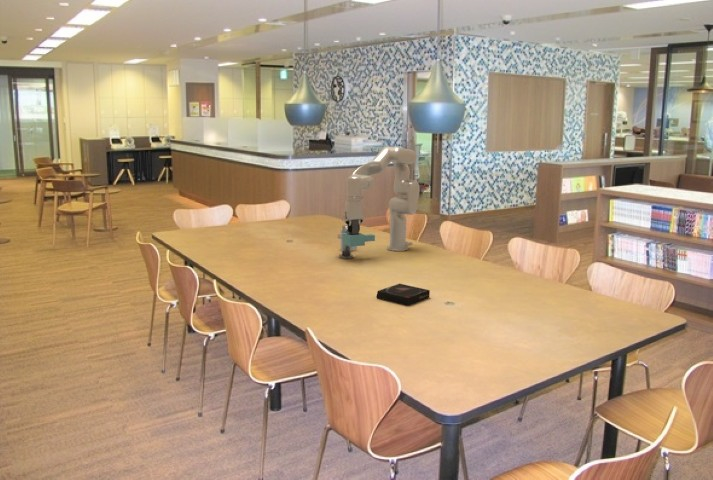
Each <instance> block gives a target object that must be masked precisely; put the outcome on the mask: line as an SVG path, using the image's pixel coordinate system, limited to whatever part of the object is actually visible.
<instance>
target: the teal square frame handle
mask: <svg viewBox="0 0 713 480" xmlns="http://www.w3.org/2000/svg"><path fill="white" fill-rule="evenodd" d="M375 241H376V235H375V234H372V233H371V234H370V233H369V234H365V233H361V232H359V235H349V233H342V244H344V245H347V246H349V247H354V246H357V247H362V246H366V242H367V243H368V242H375Z"/></svg>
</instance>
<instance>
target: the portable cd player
mask: <svg viewBox="0 0 713 480" xmlns="http://www.w3.org/2000/svg"><path fill="white" fill-rule="evenodd" d="M430 291H431V290H430V289H425V288H422V287H417V286H411V285H408V284H403V283H397V284H395V285H391V286H388V287H385V288H382V289H380V290H379V289H378V290H377V292H376V293H377V294H376V299H378V300H382V301H386V302H390V303H394V304H398V305H402V306H406V307H409V306H412V305H414V304H417V303H419V302H422V301H425V300H428V299H430V296H431V295H430Z"/></svg>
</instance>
